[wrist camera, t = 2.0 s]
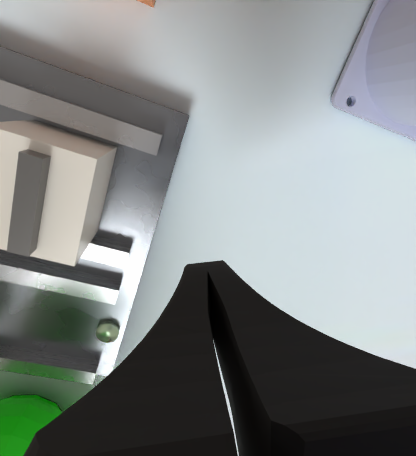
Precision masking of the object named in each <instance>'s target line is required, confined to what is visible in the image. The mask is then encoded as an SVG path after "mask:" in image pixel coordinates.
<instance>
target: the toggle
mask: <svg viewBox="0 0 416 456" xmlns="http://www.w3.org/2000/svg"><path fill="white" fill-rule="evenodd" d="M116 149H117V147H115V146H112V145H109V144H106V143H103V142H100V141H97V140H94V139H91V138H88V137H84V136H81V135H78V134H75V133H72V132H69V131H66V130H63V129H60V128H57V127H54V126H51V125H48V124H44V123H41V122H38V121H35V120H21V121H6V122H0V249H2V250H6V251H7V252H10V253H15V254H19V255H23V256H27V257H29V256H32V257H36V258H40V259H45V260H49V261H53V262H58V263H62V264H66V265H70V266H75V265H76V263H77V262H78V260H79V259H80V257H81V256H82V254H83V253H84V251H85V250H86V248H87V247H88V245H89V244H90V242H91V240H92V239H93V237H94V236H95V234H96V233H97V231H98V227H99V223H100V219H101V214H102V210H103V206H104V201H105V197H106V193H107V188H108V184H109V180H110V175H111V171H112V167H113V162H114V158H115V154H116Z"/></svg>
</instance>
